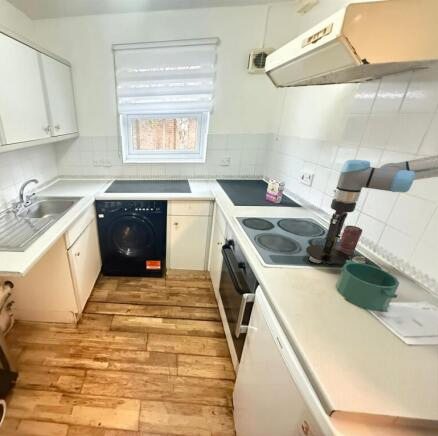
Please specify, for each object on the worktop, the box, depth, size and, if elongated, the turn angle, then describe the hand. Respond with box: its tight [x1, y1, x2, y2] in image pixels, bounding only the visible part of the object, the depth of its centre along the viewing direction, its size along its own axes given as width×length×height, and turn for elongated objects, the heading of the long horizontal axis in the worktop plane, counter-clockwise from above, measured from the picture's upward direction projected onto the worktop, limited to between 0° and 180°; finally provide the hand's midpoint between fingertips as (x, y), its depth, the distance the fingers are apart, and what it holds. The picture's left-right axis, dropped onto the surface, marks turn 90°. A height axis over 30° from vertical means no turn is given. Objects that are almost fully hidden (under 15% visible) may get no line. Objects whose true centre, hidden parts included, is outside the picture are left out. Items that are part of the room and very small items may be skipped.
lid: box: [305, 237, 351, 266], centre depth 101 cm, size 16×16×9 cm
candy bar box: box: [264, 178, 286, 205], centre depth 181 cm, size 11×5×16 cm, turn 15°
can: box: [336, 225, 364, 258], centre depth 110 cm, size 6×6×14 cm
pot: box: [335, 259, 400, 311], centre depth 85 cm, size 15×20×10 cm
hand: (327, 251), depth 102 cm, fingers closed on lid, 3 cm apart
